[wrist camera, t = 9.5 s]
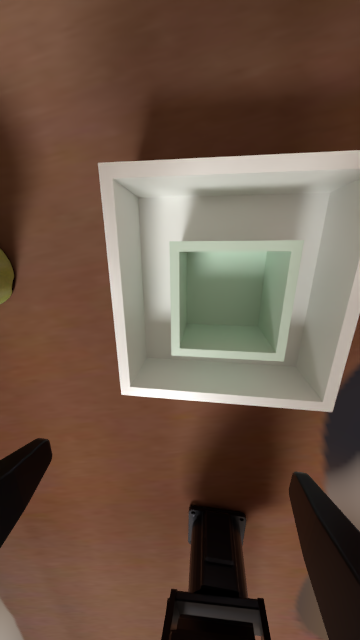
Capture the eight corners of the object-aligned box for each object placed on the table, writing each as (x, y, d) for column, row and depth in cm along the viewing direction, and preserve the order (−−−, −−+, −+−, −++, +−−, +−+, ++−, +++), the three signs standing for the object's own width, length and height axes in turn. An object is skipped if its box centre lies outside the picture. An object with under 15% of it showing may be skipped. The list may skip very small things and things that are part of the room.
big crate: (299, 370, 18) (332, 412, 14) (141, 360, 20) (121, 394, 15) (338, 182, 14) (405, 147, 9) (131, 189, 15) (98, 162, 11)
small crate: (262, 330, 17) (283, 361, 12) (181, 327, 18) (171, 355, 13) (273, 243, 15) (304, 240, 10) (180, 244, 16) (169, 241, 11)
